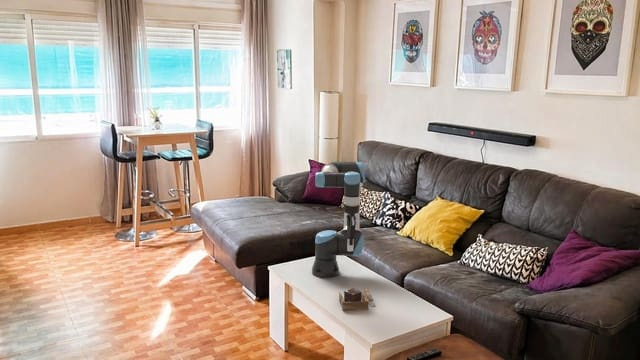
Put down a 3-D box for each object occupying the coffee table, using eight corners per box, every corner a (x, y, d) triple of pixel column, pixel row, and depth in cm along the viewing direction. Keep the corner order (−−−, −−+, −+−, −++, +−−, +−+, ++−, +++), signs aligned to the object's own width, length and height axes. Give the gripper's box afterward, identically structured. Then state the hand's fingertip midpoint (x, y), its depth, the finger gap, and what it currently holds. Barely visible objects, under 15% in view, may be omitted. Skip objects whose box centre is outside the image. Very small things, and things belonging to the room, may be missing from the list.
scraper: (363, 292, 261) (363, 288, 260) (368, 292, 261) (368, 288, 261) (370, 306, 244) (370, 302, 244) (375, 306, 244) (375, 302, 244)
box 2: (338, 300, 251) (339, 292, 250) (363, 299, 252) (363, 291, 251) (342, 310, 240) (342, 302, 239) (368, 309, 241) (368, 301, 240)
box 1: (361, 306, 245) (362, 291, 243) (352, 309, 241) (352, 295, 240) (352, 302, 249) (353, 287, 248) (343, 305, 246) (343, 290, 244)
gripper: (341, 201, 255) (340, 246, 260) (346, 207, 242) (344, 255, 247) (356, 200, 256) (355, 246, 261) (361, 207, 243) (360, 255, 248)
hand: (350, 250), depth 254 cm, fingers closed
